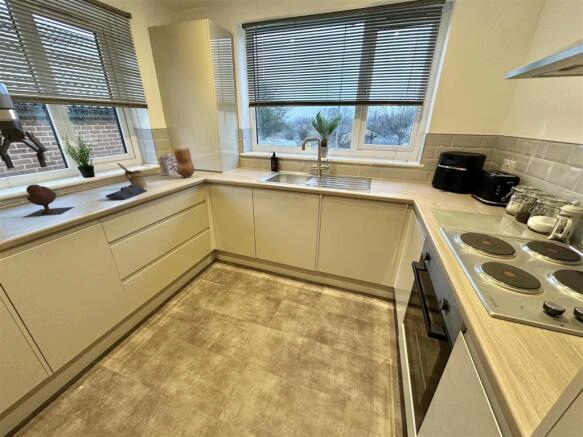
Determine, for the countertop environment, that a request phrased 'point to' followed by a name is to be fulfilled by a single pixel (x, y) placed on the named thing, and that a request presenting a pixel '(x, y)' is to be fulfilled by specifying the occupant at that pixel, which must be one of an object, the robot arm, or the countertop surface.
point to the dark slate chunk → (127, 192)
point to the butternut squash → (184, 161)
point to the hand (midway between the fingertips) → (27, 167)
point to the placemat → (57, 212)
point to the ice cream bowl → (41, 197)
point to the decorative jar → (168, 164)
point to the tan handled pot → (134, 177)
